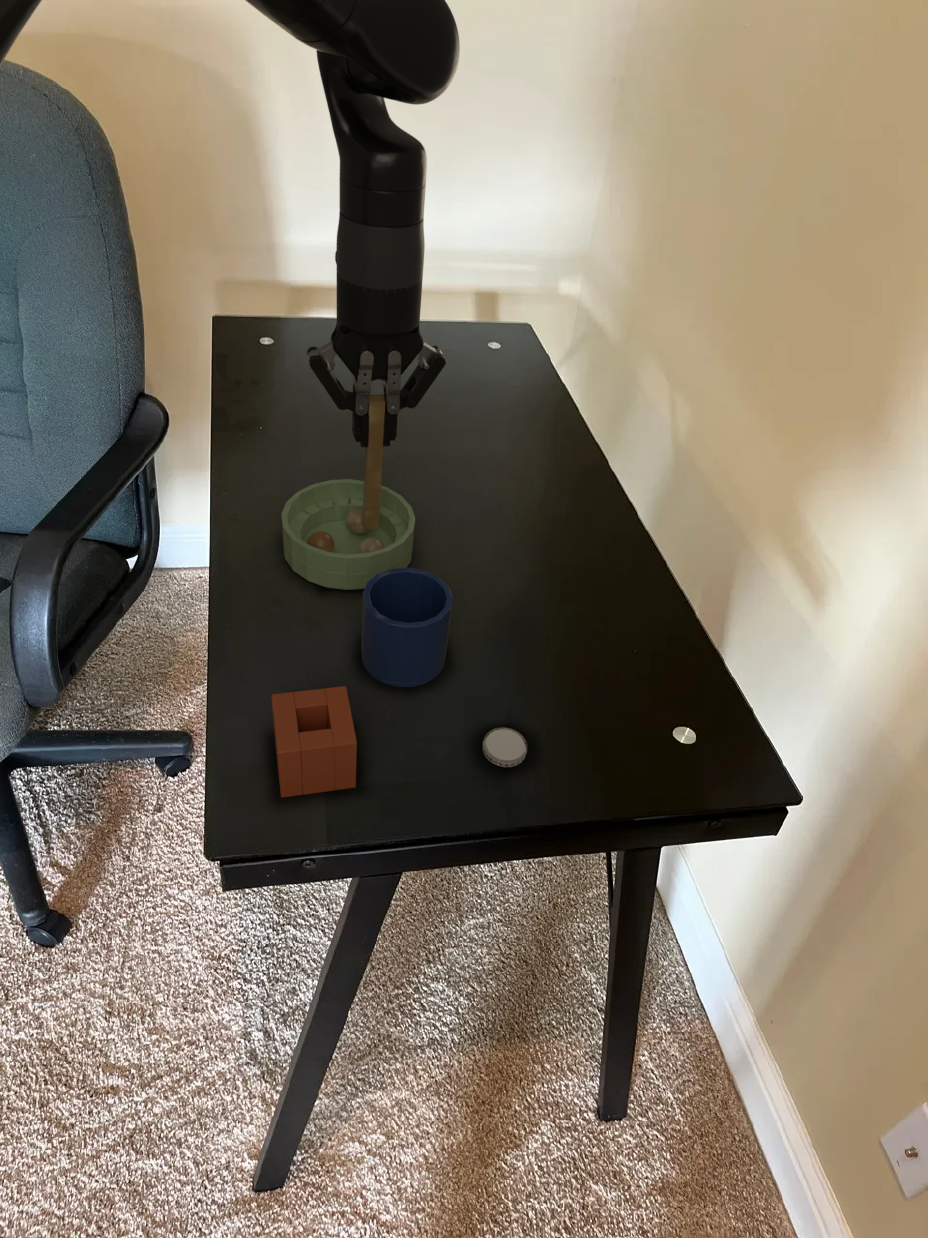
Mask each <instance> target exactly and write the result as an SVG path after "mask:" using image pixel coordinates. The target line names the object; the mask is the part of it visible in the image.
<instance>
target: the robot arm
mask: <svg viewBox="0 0 928 1238" xmlns="http://www.w3.org/2000/svg"><path fill="white" fill-rule="evenodd" d="M42 1H43V0H0V67H1V66H2V64H3V62H4V60H5V59H6V57H7V55H8V54H9V53H10V51H11V49H12V47H13V45H14V44H15V42H16V40H17V38H18V37H19V36H20V34H21V32H22V31H23V29H24V28H25V27H26V25H27V23H28V22H29V20H30V19H31V17H32V16H33V15H34V13H35V11H36V10H37V9H38V7H39V6H40V4H41V3H42ZM244 1H246V2H247V3H248V4H249V5H250V6H252V7H253V8H254V9H256V10H257V11H258V12H259V13H261V14H262V15H263V16H264V17H266V18H267V19H268V20H270V21H271V22H273V23H274V24H275V25H277V26H278V27H279V28H281V29H282V30H283V31H285V32H286V33H287V34H289V35H290V36H292V37H293V38H294V39H295V40H297V41H299V42H300V43H302V44H303V45H305V46H307V47H309V48H311V49H314V50H316V60H317V65H318V69H319V74H320V79H321V85H322V88H323V92H324V96H325V100H326V105H327V110H328V113H329V118H330V122H331V127H332V132H333V135H334V140H335V143H336V147H337V148H336V149H337V152H338V158H339V180H338V181H339V187H338V189H339V190H338V191H339V196H338V197H339V199H338V200H339V201H338V202H339V203H338V204H339V208H338V209H339V212H338V213H339V214H338V224H337V231H336V244H335V245H336V250H335V253H334V261H335V264H336V324H335V328H334V329H333V331H332V333H331V336H330V341H329V342H327V343H325V344H324V345H322V346H321V347H320V346H319V347H317V346H310V347H308V348H307V350H306V355H307V360H308V364H309V367H310V369H311V370H312V372H313V373H314V375H315V377H316V378H317V379H318V381H319V382H320V384H321V385H322V387H323V388H324V390H325V391H326V393H327V394H328V395H329V397H330V399H331V400H332V401H333V403H334V405H335V406H336V408H337V409H339V410H341V411H346V410H348V411H351V412H352V413H351V431H352V435H353V438H354V441H355V442H356V443H359V445H360V448H365V447H368V443H369V415H368V412H367V411H368V401H369V394H371V389H372V382H374V381H378V380H380V381H382V394H383V397H384V400H385V415H384V434H383V447H390V446H391V442H393V441H395V440H396V438H397V435H398V416H399V412H400V411H401V410H403V409H405V408H408V409H414V408H416V407H417V406H418V405H419V404H420V402H421V400H422V399H423V397H424V396H425V395H426V394H427V392H428V390H429V389H430V388H431V386H432V385H433V383H434V382H435V381H436V379H437V377H438V376H439V375H440V373H441V372H442V370H443V369H444V368H445V367H446V363H447V362H446V358H445V355H444V354H443V352H442V350H441V348H440V346H438V345H429V344H428V343H426V342H425V341H424V338H423V335H422V333H421V330H420V323H421V307H422V291H423V280H424V279H423V277H424V264H425V225H424V224H425V222H424V217H425V202H426V201H425V200H426V186H427V185H426V184H427V171H428V156H427V151H426V149H425V146H424V145H423V143H422V142H421V141H420V140H419V139H417V138H416V137H415V136H413V135H412V134H410V133H408V132H407V131H406V130H404V129H403V128H401V127H400V126H398V125H397V124H396V123H395V121H393V120H392V118H391V117H390V114H389V112H388V108H387V105H386V100H391V101H394V102H399V103H401V104H402V103H403V104H407V105H412V106H413V105H416V106H418V105H425V104H428V103H431V102H433V101H435V100H437V99H438V98H440V97H441V96H442V95H443V94H444V93H445V92H446V91H447V90H448V88H449V87H450V85H451V84H452V82H453V80H454V78H455V75H456V73H457V70H458V66H459V60H460V53H461V49H460V48H461V46H460V45H461V44H460V35H459V30H458V25H457V22H456V20H455V17H454V13H453V11H452V10H451V8H450V6H449V4H448V3H447V1H446V0H244ZM385 99H386V100H385ZM336 355H337V356H338V358H339V359H340V360H341V362H342V363H343V364H344V365H345V367H346V368H347V370H348V371H349V372H350V373H351V374H352V375H351V377H352V388H351V391H349V390H346V388H345V386H343V384H342V382H341V381H340V378H338V377H337V375H336V373H335V372H334V369H335V367H336V362H335V357H336ZM416 358H417V359H416ZM415 359H416V360H417V363H418V364H417V366H416V367H415V369H414V370H413V372H412V373H411V374H410V376H409V377H408V379H407V380H406V382H405V383H404V384H403V386H401V383H402V381H401V380H402V379H401V377H402V375H403V374H404V373H405V371H406V370H407V369H408V368H409V367H410V365H411V364H412V363H413V362H414V360H415Z"/></svg>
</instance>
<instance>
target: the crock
mask: <svg viewBox="0 0 928 1238" xmlns="http://www.w3.org/2000/svg"><path fill="white" fill-rule="evenodd" d="M453 602H454V597H453V594H452V591H451V588H450V586H449V585H448V584H447V583H446V582H445V581H444V580H443V579H442V578H441V577H440V576H437V575H435V574H433V573H431V572H429V571H427V570H425V569H424V570H423V569H419V568H414V567H406V568H397V569H390V570H387V571H385V572H382V573H379V574H377V575H376V576H375V577H373V578H372V579H371V580H370V581H369V582H368V583H367V584H366V587H365V589H363V592H362V603H361V605H362V607H361V613H362V614H361V641H360V642H361V644H360V652H361V661H362V664H363V666H364V669H365V670H366V671H367V673H368V674H369V675H370V676H371V677H372V678H374V679H375V680H377V681H378V682H381V683H383V684H385V685H388V686H390V687H391V686H392V687H395V688H396V687H397V688H414V687H419V686H423V685H425V684H427V683H430V682H431V681H433V680H434V679H435V678H437V677H438V676H439V675H440V673H442V670H443V669H444V667H445V661H446V656H447V650H448V644H449V635H450V627H451V620H452V612H453Z"/></svg>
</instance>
